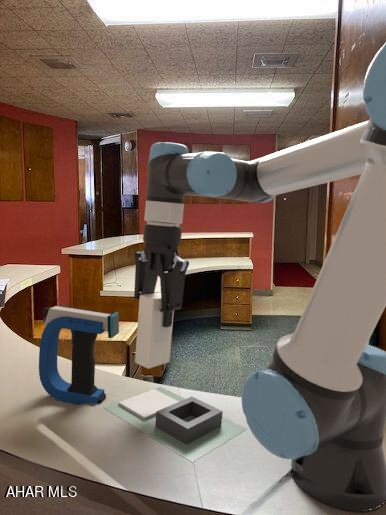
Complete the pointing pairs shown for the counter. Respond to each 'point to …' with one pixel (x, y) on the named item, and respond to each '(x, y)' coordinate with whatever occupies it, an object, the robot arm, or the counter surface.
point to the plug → (151, 333)
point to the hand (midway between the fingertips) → (154, 338)
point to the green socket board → (177, 421)
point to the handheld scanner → (73, 352)
